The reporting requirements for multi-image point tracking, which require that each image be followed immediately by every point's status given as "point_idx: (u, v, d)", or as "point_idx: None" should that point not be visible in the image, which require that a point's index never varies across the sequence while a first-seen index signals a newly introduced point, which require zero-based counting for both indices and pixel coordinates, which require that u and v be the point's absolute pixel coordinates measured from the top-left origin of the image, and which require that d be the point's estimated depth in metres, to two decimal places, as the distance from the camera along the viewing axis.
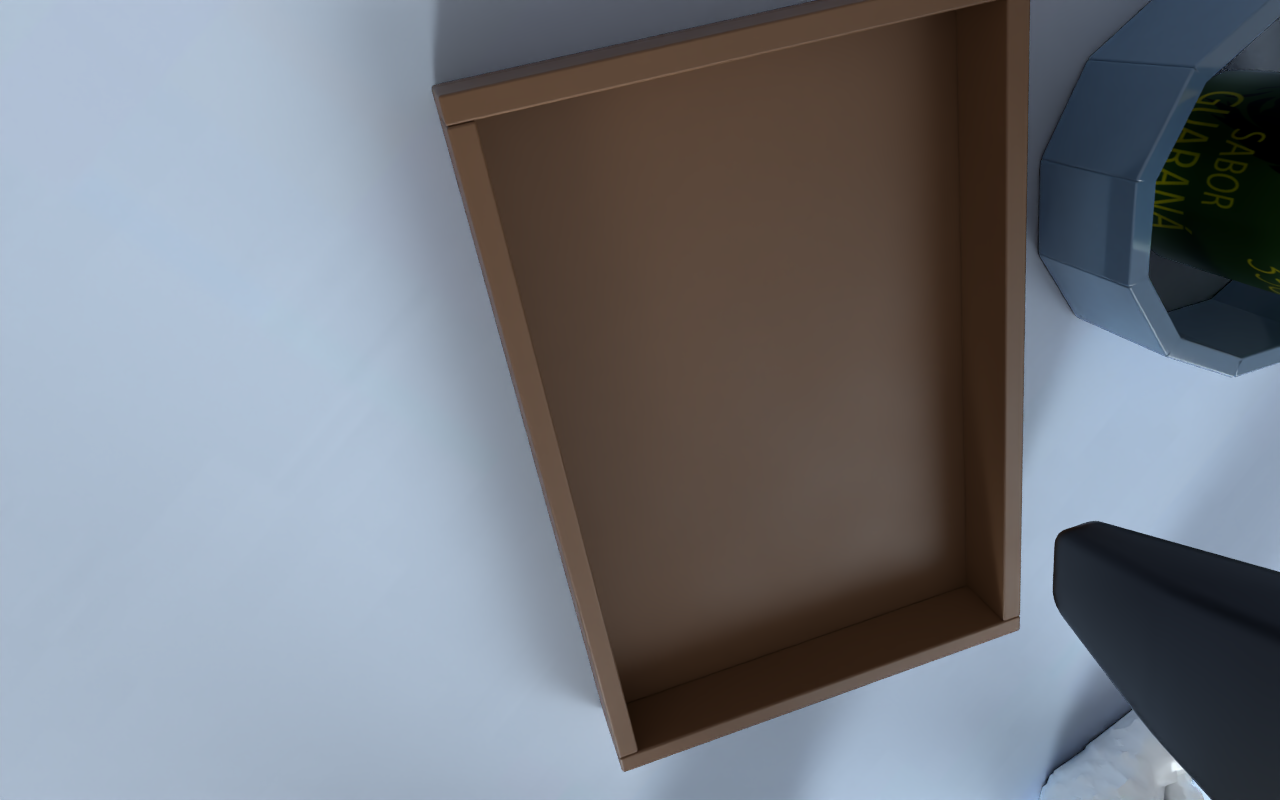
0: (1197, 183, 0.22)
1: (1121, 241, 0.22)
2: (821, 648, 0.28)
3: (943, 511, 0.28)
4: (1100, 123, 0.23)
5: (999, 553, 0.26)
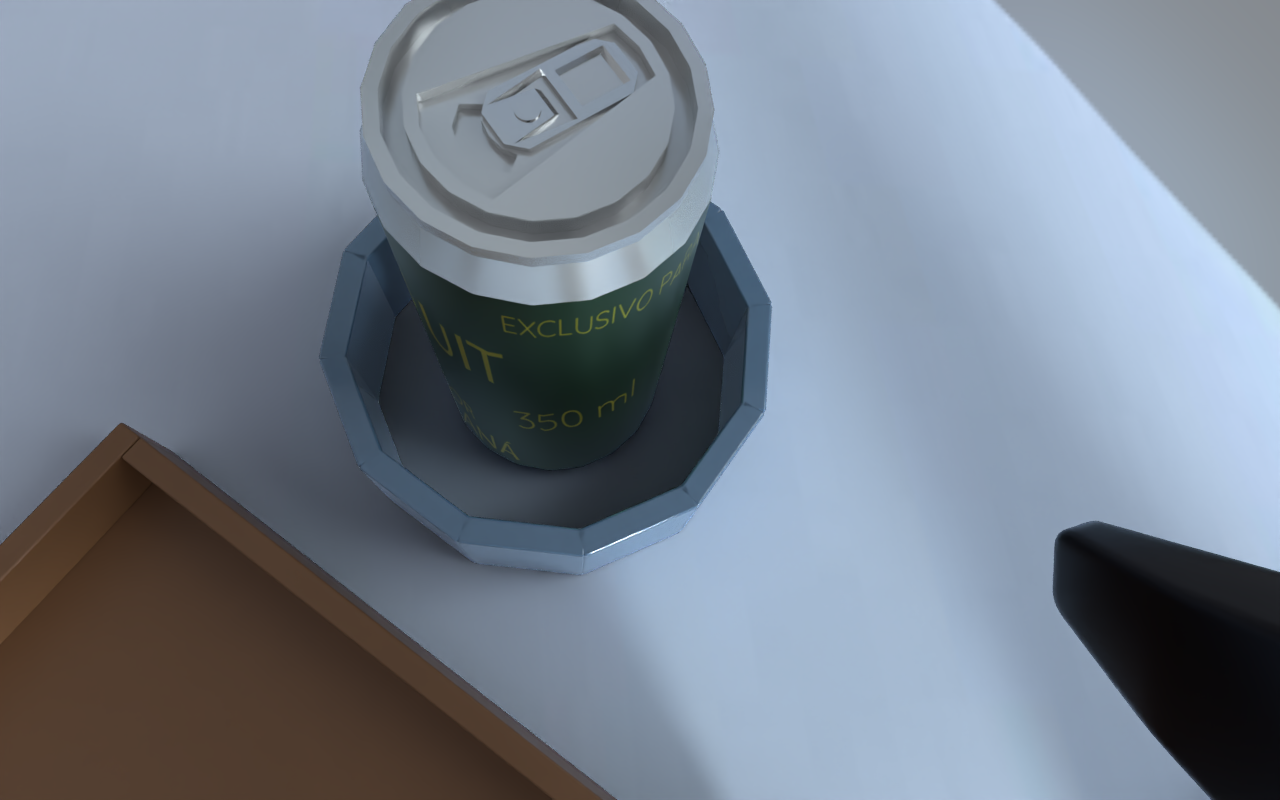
0: (463, 409, 0.20)
1: (416, 513, 0.19)
2: None
3: None
4: None
5: None
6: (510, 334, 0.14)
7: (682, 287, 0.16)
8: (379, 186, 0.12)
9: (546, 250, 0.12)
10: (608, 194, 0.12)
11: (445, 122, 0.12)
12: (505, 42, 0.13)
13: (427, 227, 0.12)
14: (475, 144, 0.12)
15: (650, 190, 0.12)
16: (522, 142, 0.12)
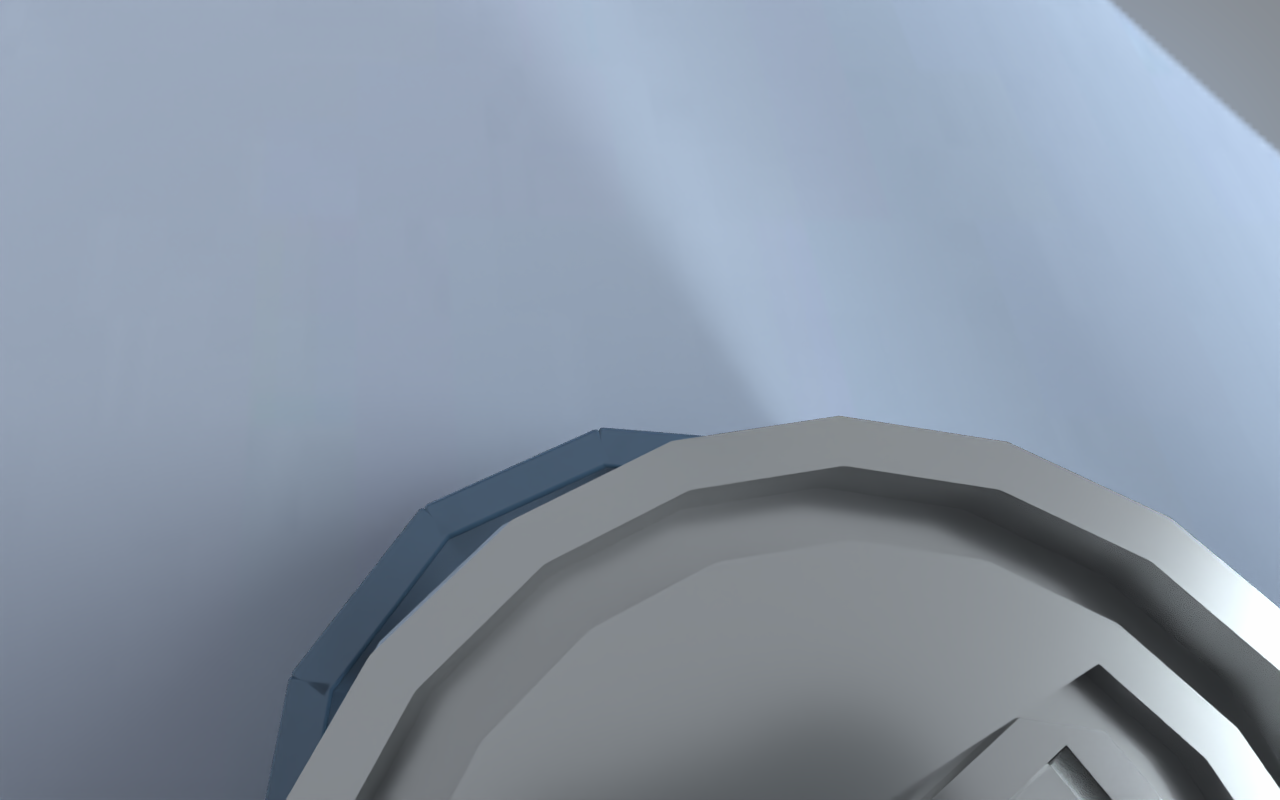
0: None
1: None
2: None
3: None
4: None
5: None
6: None
7: None
8: None
9: None
10: None
11: None
12: (742, 788, 0.03)
13: None
14: None
15: None
16: None
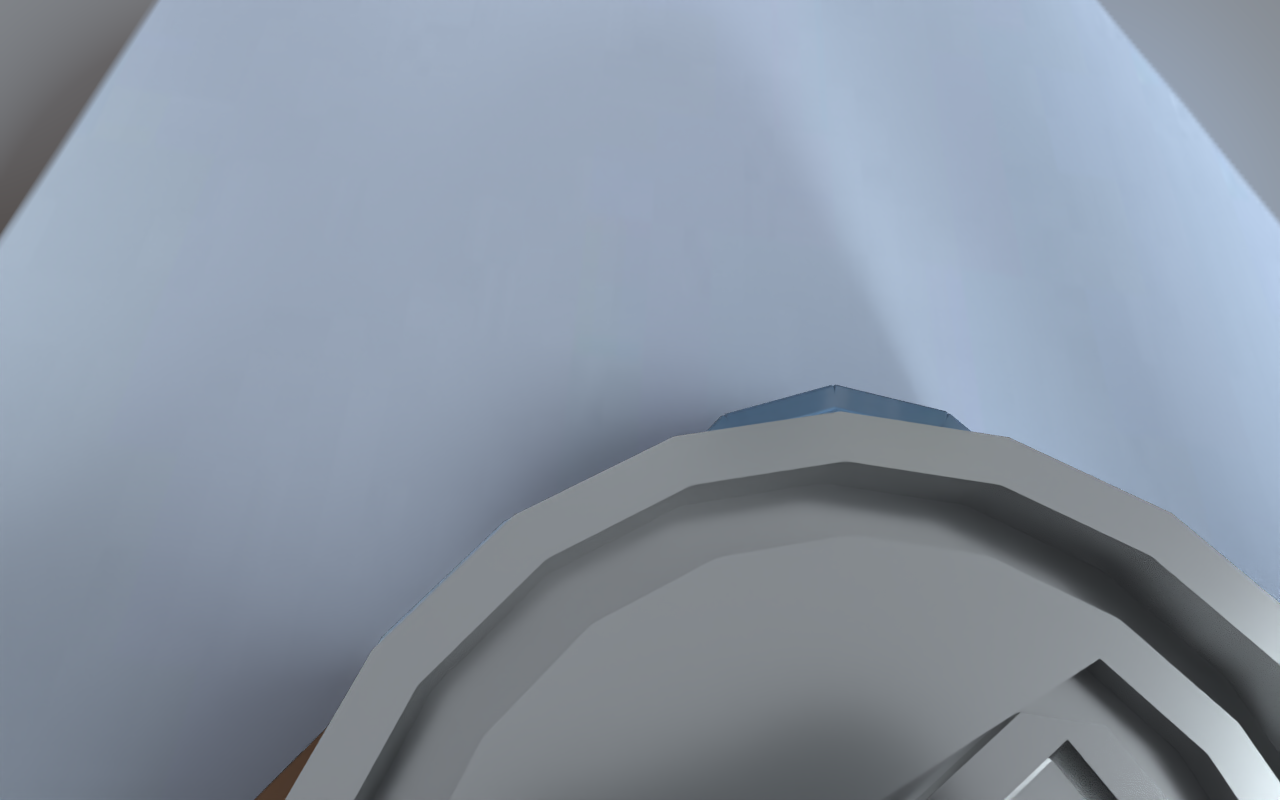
0: None
1: None
2: None
3: None
4: None
5: None
6: None
7: None
8: None
9: None
10: None
11: None
12: (745, 783, 0.03)
13: None
14: None
15: None
16: None
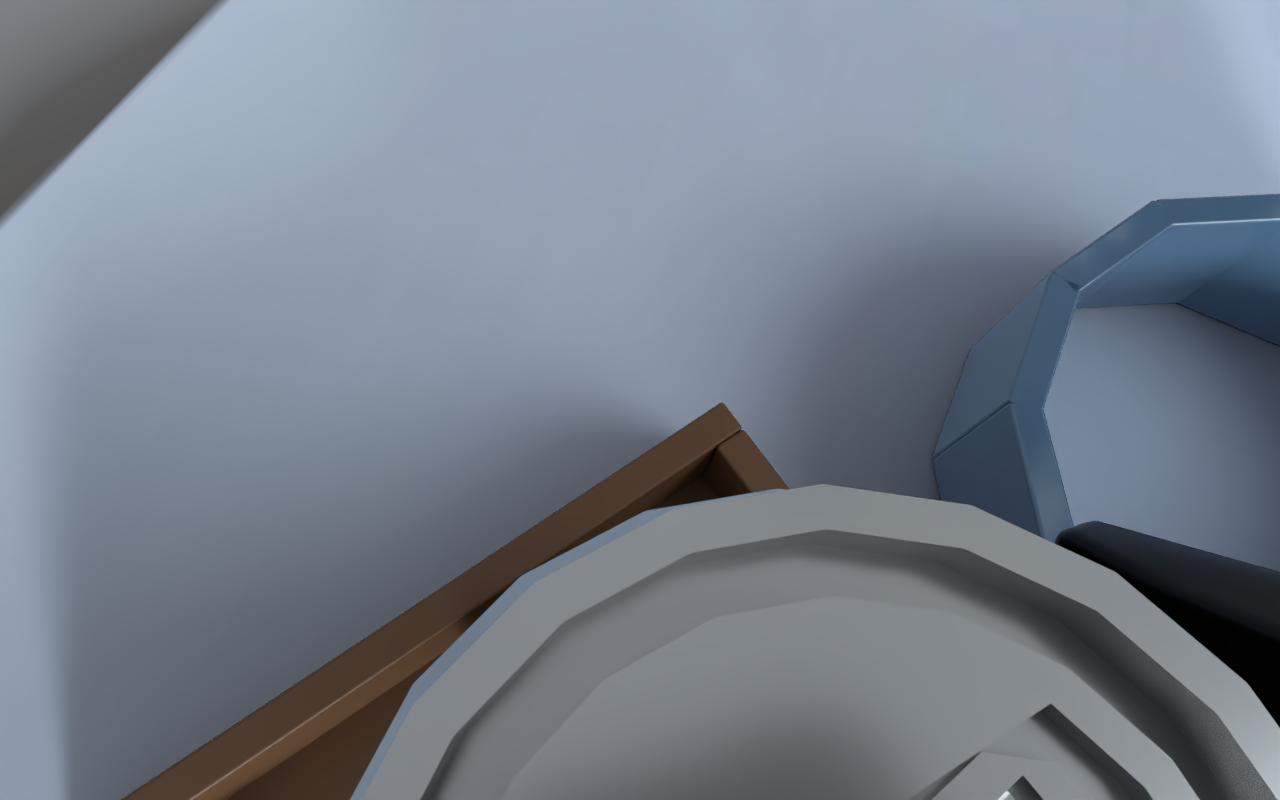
0: None
1: None
2: None
3: None
4: None
5: None
6: None
7: None
8: None
9: None
10: None
11: None
12: None
13: None
14: None
15: None
16: None
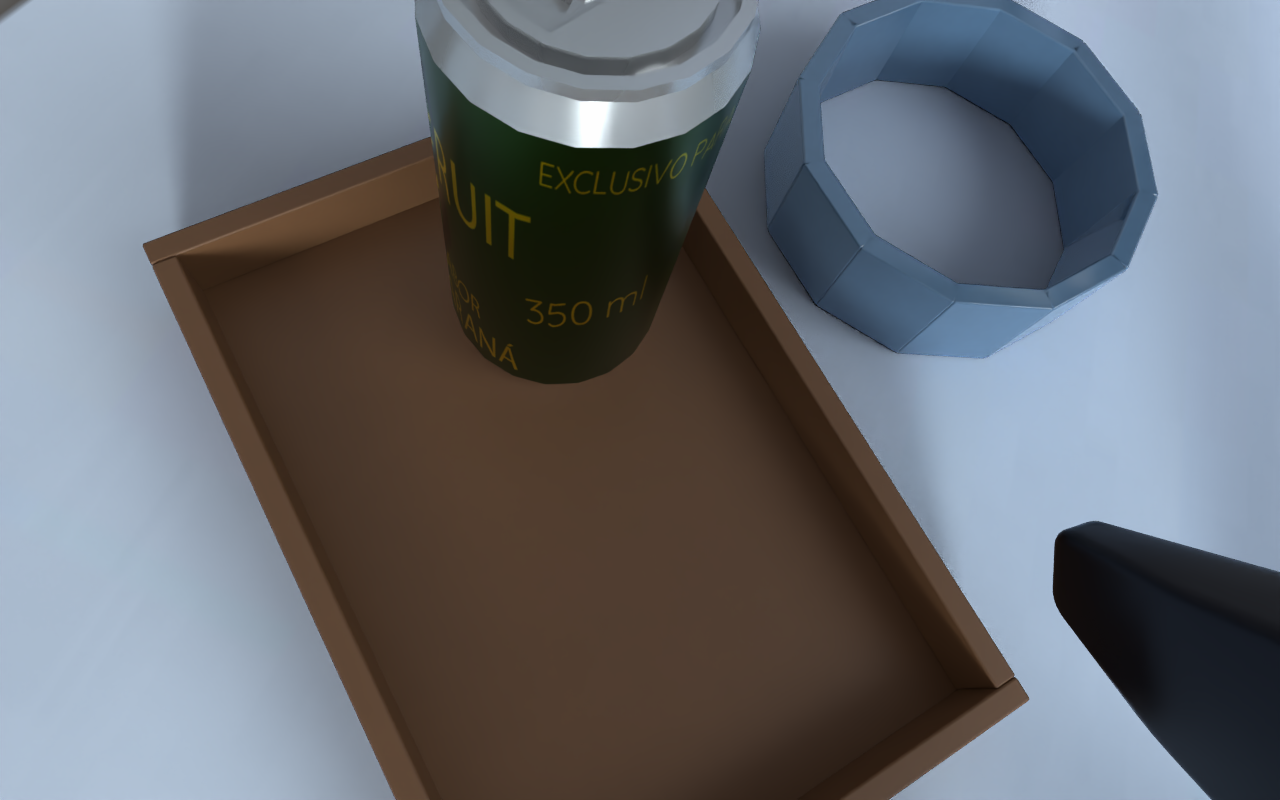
0: (468, 308, 0.20)
1: (831, 218, 0.23)
2: None
3: (863, 590, 0.23)
4: (780, 167, 0.25)
5: (931, 593, 0.21)
6: (545, 189, 0.14)
7: (706, 176, 0.16)
8: (434, 19, 0.13)
9: (599, 84, 0.12)
10: (661, 40, 0.12)
11: None
12: None
13: (483, 53, 0.12)
14: None
15: (698, 46, 0.13)
16: None
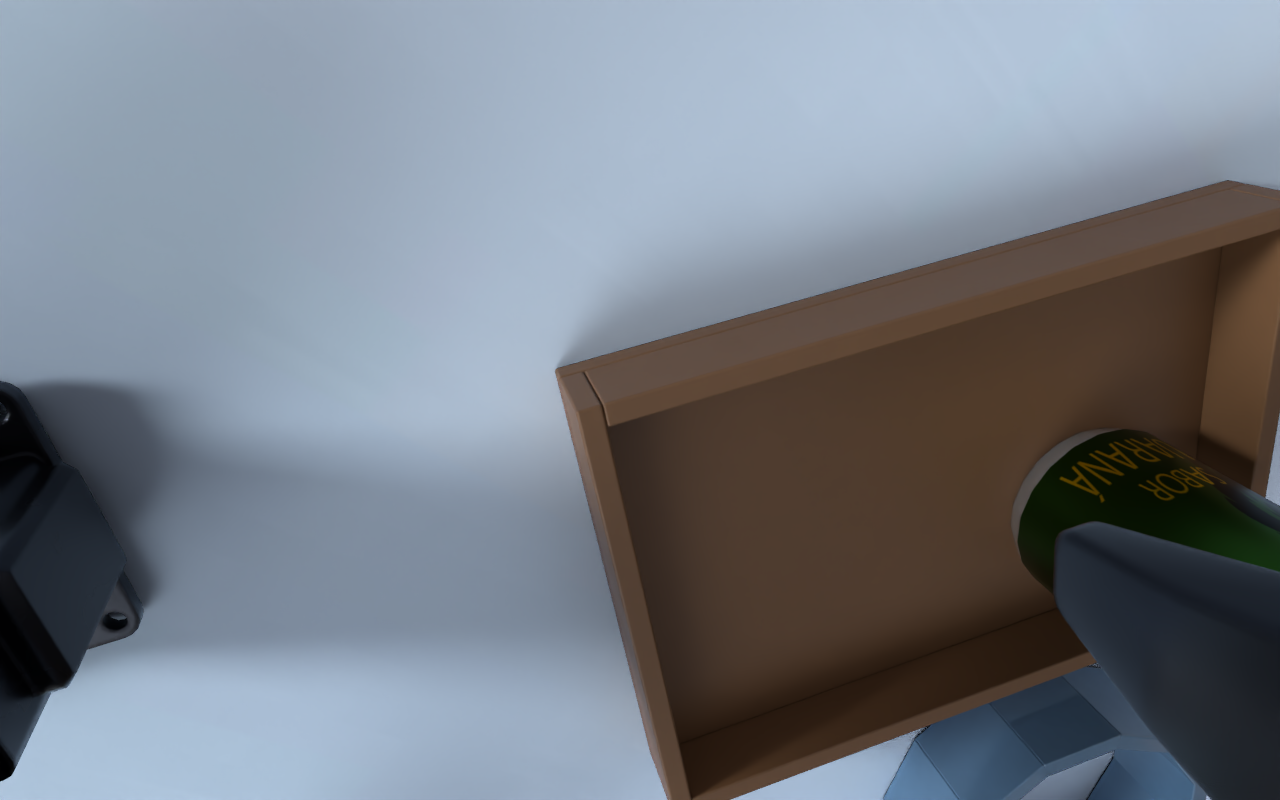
0: (1145, 472, 0.23)
1: (1069, 743, 0.27)
2: None
3: (767, 692, 0.26)
4: (1103, 694, 0.29)
5: (772, 762, 0.25)
6: None
7: None
8: None
9: None
10: None
11: None
12: None
13: None
14: None
15: None
16: None
